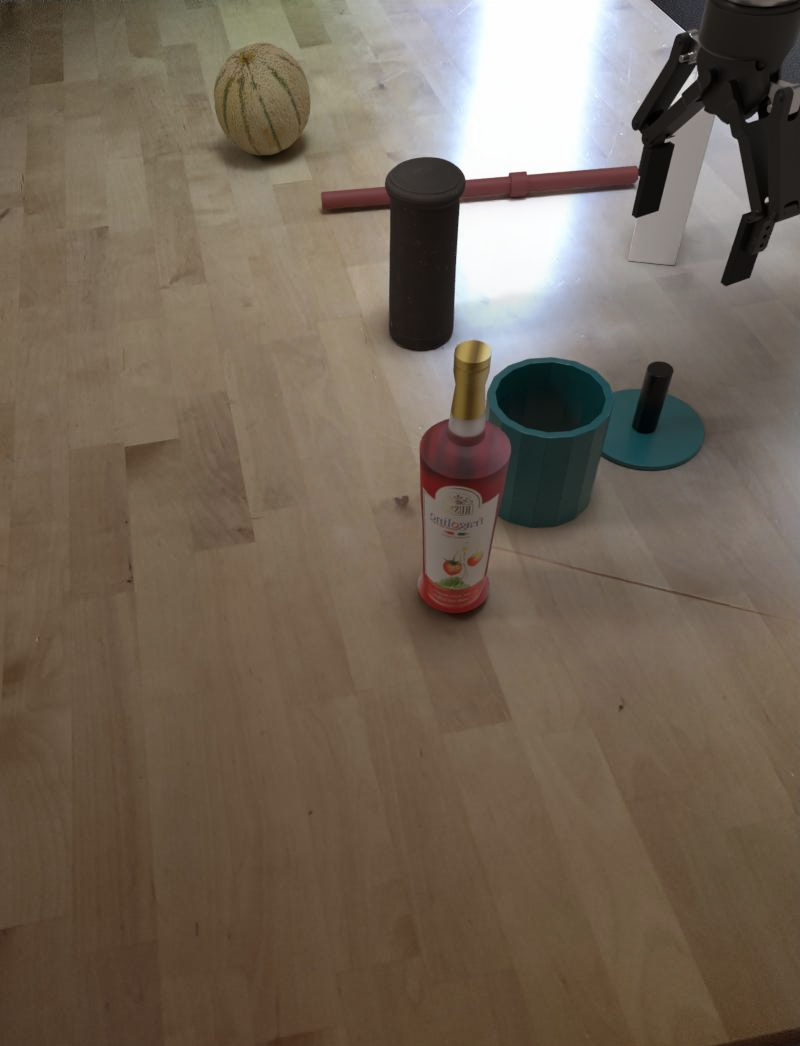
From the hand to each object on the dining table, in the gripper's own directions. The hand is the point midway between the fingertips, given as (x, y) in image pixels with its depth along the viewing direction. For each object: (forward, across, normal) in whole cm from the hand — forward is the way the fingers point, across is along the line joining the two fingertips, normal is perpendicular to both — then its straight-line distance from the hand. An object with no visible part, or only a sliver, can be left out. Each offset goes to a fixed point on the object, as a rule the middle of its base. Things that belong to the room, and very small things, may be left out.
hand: (687, 245), depth 86 cm
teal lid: (+18, +4, -4) cm, 19 cm away
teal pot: (+19, +6, -18) cm, 27 cm away
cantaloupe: (+19, -78, -15) cm, 81 cm away
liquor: (+19, +14, -33) cm, 41 cm away
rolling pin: (+19, -48, +6) cm, 52 cm away
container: (+19, -24, -16) cm, 34 cm away
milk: (+19, -24, +19) cm, 36 cm away
